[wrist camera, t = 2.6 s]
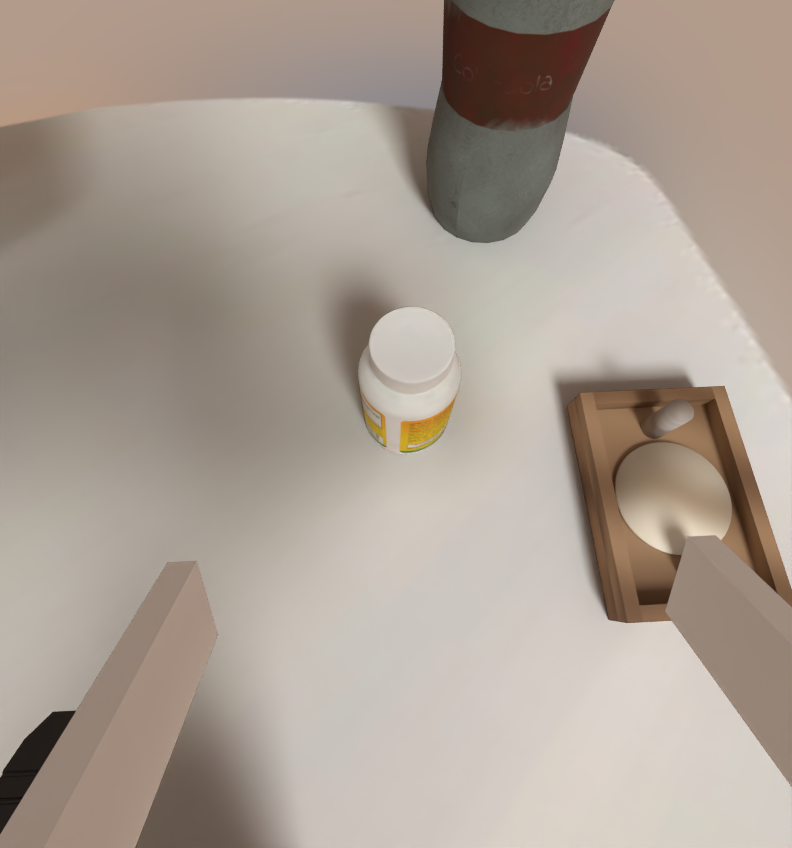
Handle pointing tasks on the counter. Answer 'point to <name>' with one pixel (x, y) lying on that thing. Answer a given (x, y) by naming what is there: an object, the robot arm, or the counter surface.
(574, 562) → the counter surface
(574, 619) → the counter surface
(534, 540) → the counter surface
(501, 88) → the vodka
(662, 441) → the pin tray
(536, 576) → the counter surface
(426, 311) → the supplement bottle
